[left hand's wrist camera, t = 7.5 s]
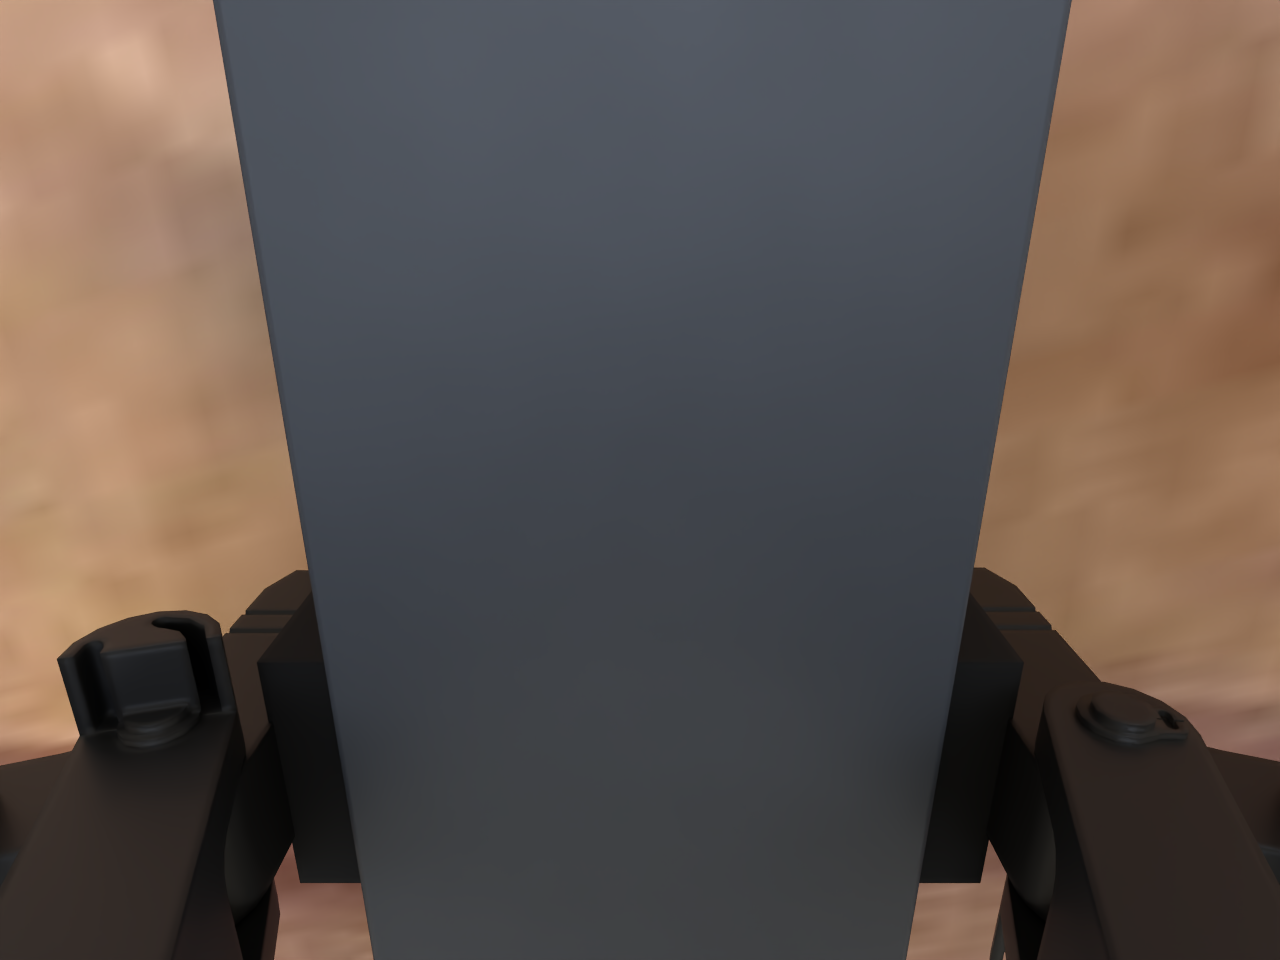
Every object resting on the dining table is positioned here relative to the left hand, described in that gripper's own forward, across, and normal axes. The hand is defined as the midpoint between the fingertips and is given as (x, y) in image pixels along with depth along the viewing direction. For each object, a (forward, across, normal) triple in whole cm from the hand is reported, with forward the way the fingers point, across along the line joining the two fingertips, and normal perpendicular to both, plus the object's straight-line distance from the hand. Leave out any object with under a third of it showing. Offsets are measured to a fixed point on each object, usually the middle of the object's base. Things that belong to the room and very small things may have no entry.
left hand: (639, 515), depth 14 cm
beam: (+1, 0, -30) cm, 30 cm away
